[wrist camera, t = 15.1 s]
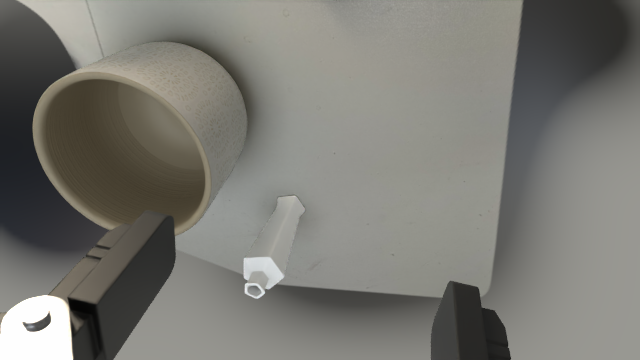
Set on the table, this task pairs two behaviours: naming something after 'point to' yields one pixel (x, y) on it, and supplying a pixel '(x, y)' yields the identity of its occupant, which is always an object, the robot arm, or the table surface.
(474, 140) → the table surface
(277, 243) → the perfume bottle
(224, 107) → the planter
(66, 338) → the robot arm
